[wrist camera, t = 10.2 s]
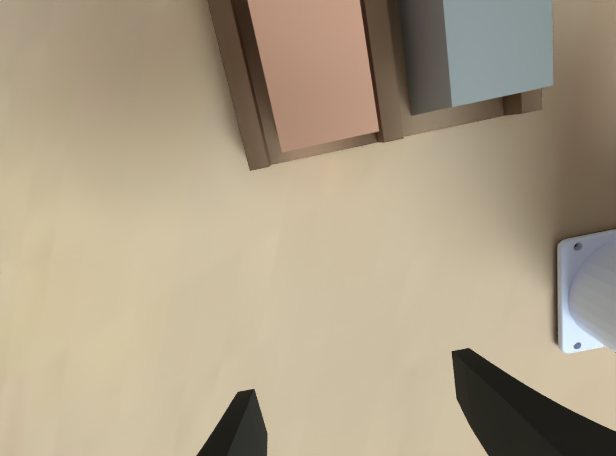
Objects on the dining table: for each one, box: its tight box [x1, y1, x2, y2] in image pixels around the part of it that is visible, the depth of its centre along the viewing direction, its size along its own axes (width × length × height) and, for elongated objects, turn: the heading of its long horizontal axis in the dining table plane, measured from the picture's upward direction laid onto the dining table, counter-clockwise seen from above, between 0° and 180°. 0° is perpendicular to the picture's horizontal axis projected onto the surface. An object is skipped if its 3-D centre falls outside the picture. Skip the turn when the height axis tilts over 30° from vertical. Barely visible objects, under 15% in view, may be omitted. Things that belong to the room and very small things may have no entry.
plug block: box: [247, 0, 379, 152], centre depth 15 cm, size 4×8×5 cm, turn 12°
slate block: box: [398, 0, 553, 116], centre depth 14 cm, size 4×8×5 cm, turn 12°
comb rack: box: [208, 0, 542, 171], centre depth 17 cm, size 15×10×2 cm, turn 102°
